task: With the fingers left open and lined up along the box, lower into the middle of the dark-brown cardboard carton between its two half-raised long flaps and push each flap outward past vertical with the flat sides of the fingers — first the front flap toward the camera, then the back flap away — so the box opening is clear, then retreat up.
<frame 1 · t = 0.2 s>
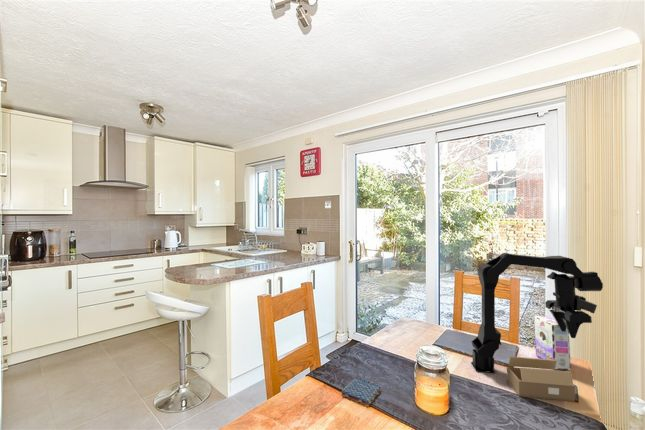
hand: (568, 334, 108), 15 cm above the table, fingers open, 6 cm apart
carton: (539, 390, 100), on the table
woven mat: (361, 395, 99), on the table
back flap: (532, 363, 104), point 7 cm above the table, hinge at 70.0°
candy box: (552, 363, 117), on the table, touching gripper
front flap: (546, 376, 95), point 7 cm above the table, hinge at 70.0°
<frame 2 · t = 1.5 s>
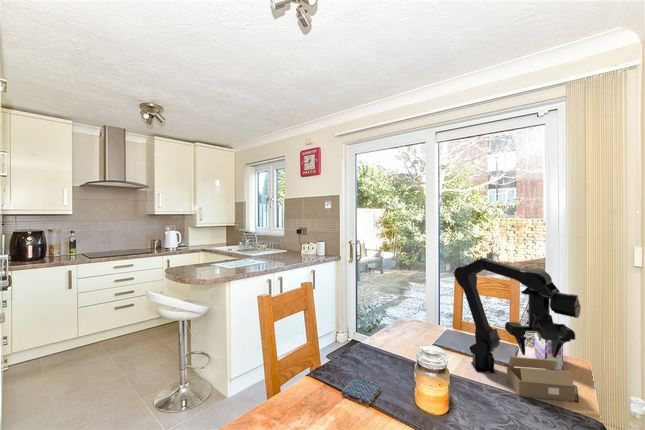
hand: (538, 355, 100), 12 cm above the table, fingers open, 9 cm apart
candy box: (548, 363, 118), on the table
everything else where it was.
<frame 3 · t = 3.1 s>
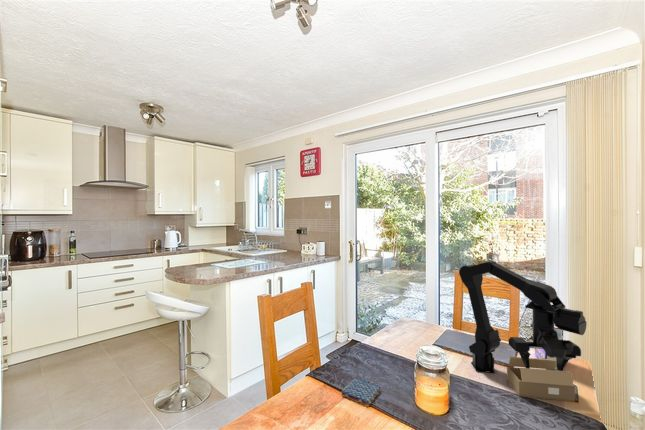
hand: (543, 372, 97), 8 cm above the table
front flap: (546, 376, 95), point 7 cm above the table, hinge at 70.0°, touching gripper
everything else where it was.
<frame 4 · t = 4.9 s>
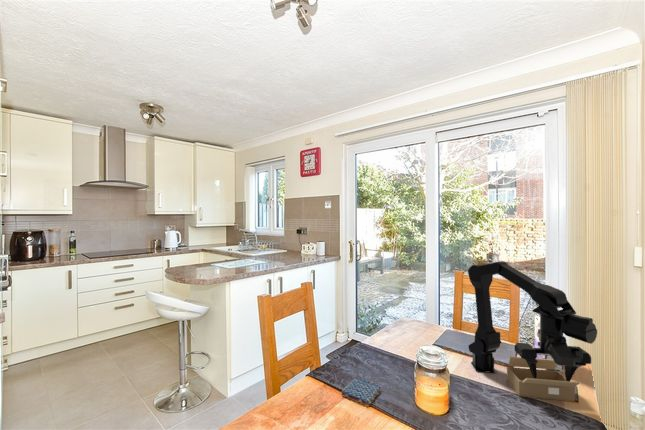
hand: (551, 379, 93), 8 cm above the table, fingers open, 9 cm apart
front flap: (550, 382, 93), point 6 cm above the table, hinge at 136.9°, touching gripper
everything else where it was.
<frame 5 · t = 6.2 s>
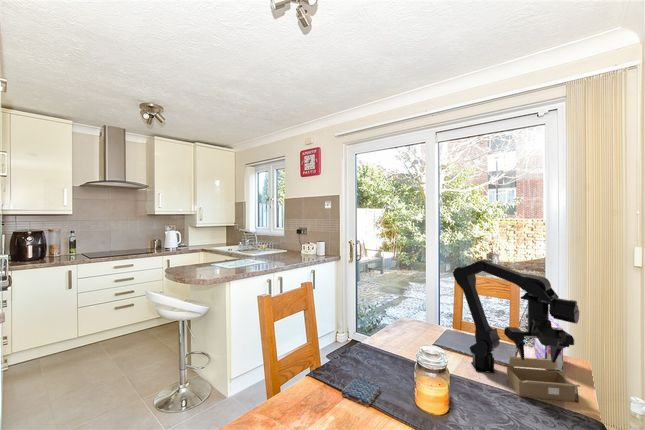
hand: (537, 360, 100), 10 cm above the table, fingers open, 9 cm apart
front flap: (550, 383, 93), point 6 cm above the table, hinge at 146.8°
everything else where it was.
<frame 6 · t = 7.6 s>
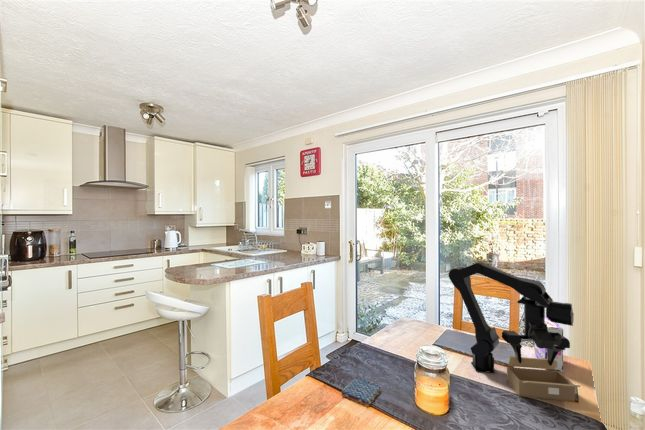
hand: (534, 363, 102), 8 cm above the table
back flap: (532, 362, 104), point 7 cm above the table, hinge at 71.1°, touching gripper
front flap: (550, 384, 93), point 6 cm above the table, hinge at 148.5°
everything else where it was.
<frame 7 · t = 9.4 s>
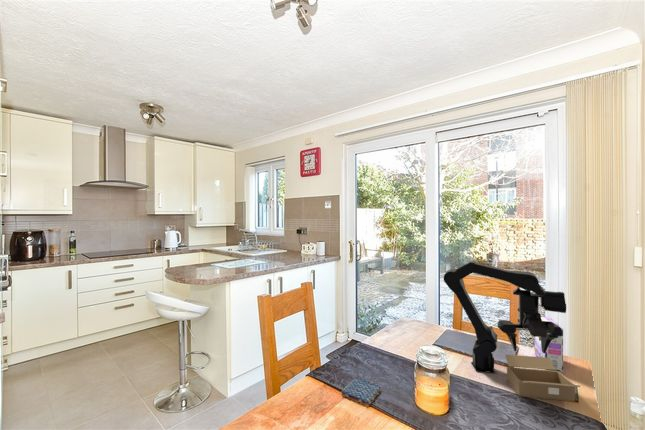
hand: (529, 351, 106), 10 cm above the table, fingers open, 9 cm apart
back flap: (529, 362, 106), point 6 cm above the table, hinge at 136.7°
everything else where it was.
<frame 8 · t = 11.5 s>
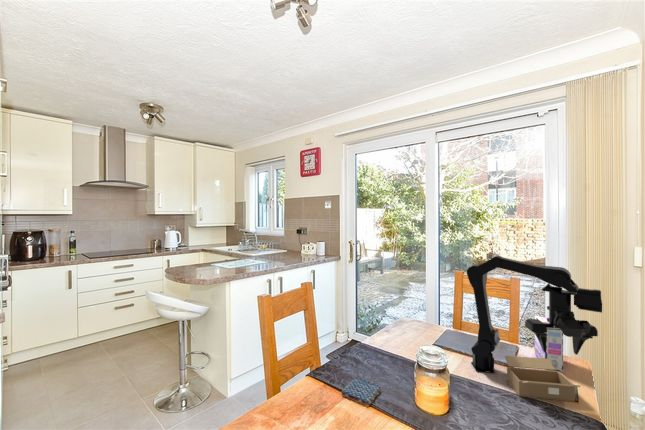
hand: (560, 352, 99), 13 cm above the table, fingers open, 9 cm apart
back flap: (529, 362, 106), point 6 cm above the table, hinge at 147.1°
everything else where it was.
at the end: front flap at +149° (first picture: +70°); back flap at +147° (first picture: +70°) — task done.
